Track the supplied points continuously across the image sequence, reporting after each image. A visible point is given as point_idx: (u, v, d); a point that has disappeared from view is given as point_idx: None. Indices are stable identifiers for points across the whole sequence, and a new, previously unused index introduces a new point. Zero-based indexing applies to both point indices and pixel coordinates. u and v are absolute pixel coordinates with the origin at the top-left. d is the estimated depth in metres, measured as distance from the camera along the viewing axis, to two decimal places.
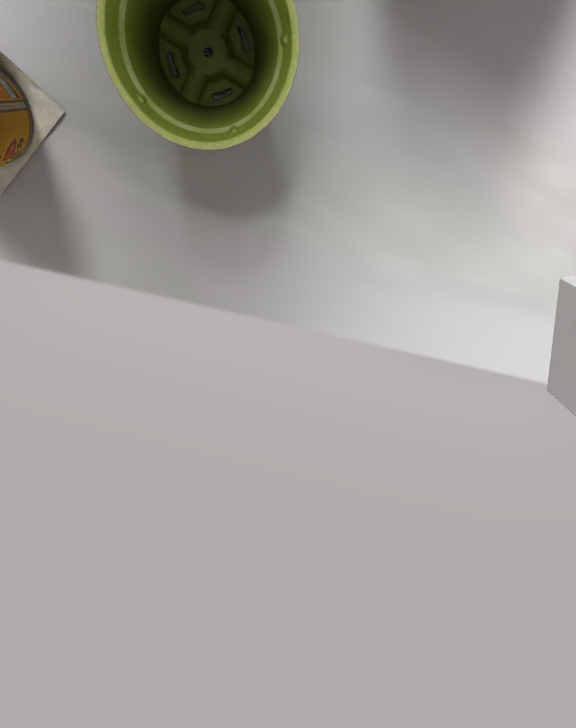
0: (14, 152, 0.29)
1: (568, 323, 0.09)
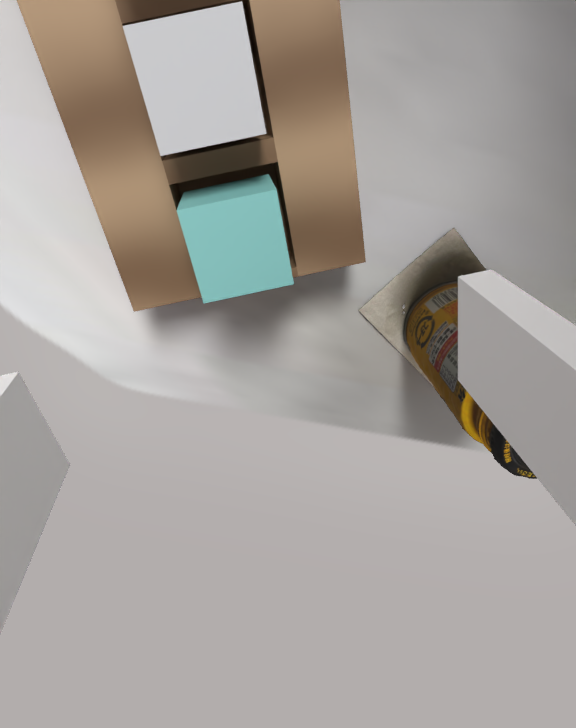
0: None
1: (466, 317, 0.10)
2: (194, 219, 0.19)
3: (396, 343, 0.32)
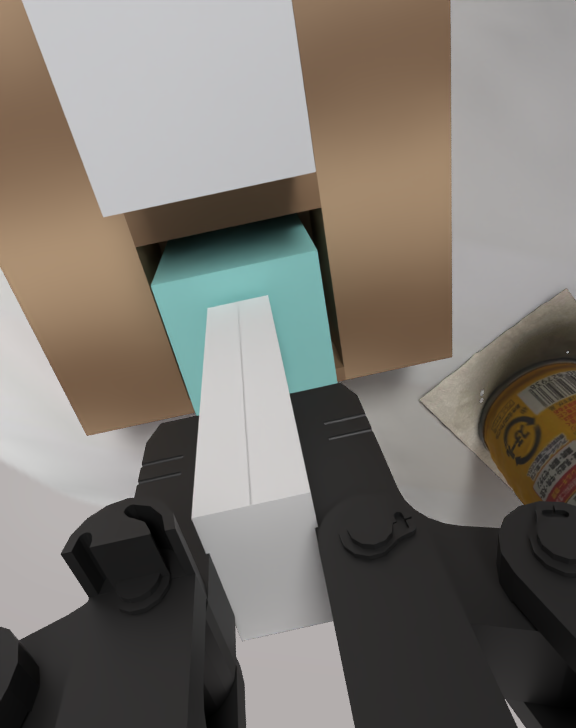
0: None
1: None
2: (181, 298, 0.11)
3: (467, 439, 0.23)
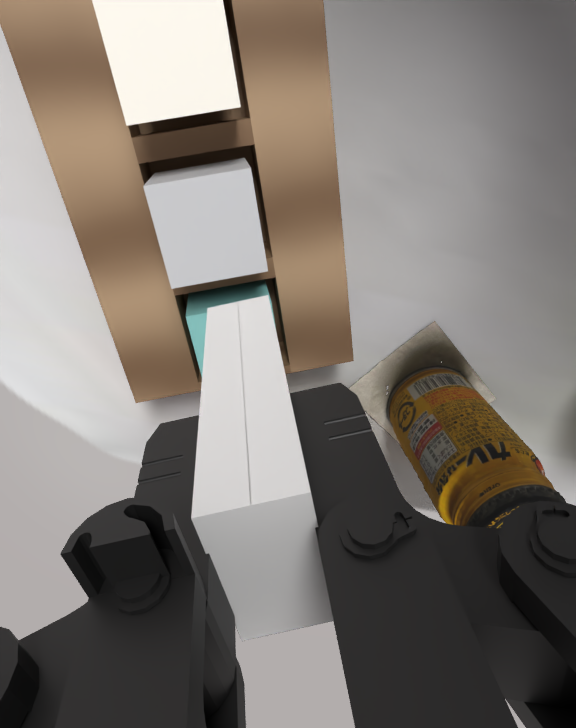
0: None
1: None
2: (200, 323, 0.22)
3: (380, 420, 0.34)
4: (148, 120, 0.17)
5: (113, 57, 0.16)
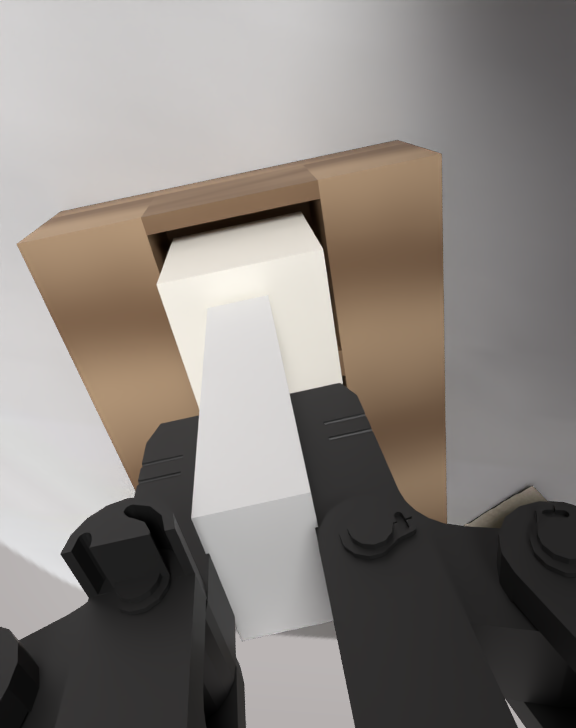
0: None
1: None
2: None
3: None
4: None
5: (188, 355, 0.12)
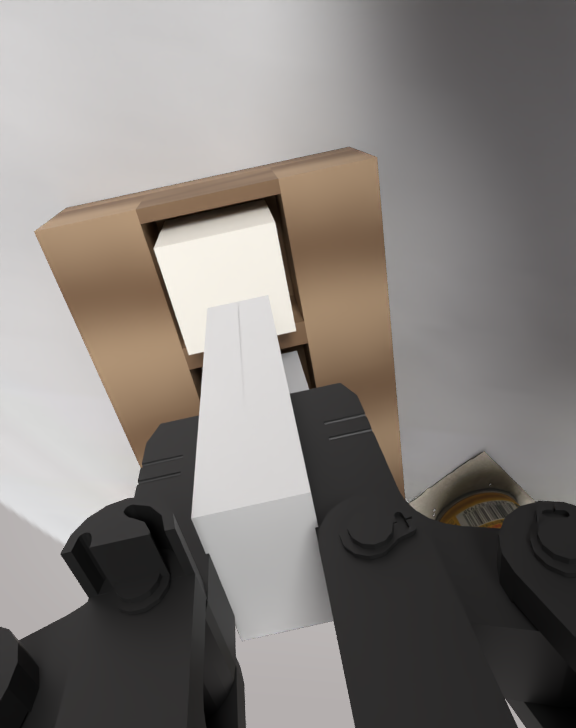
0: None
1: None
2: None
3: None
4: None
5: (177, 303, 0.16)
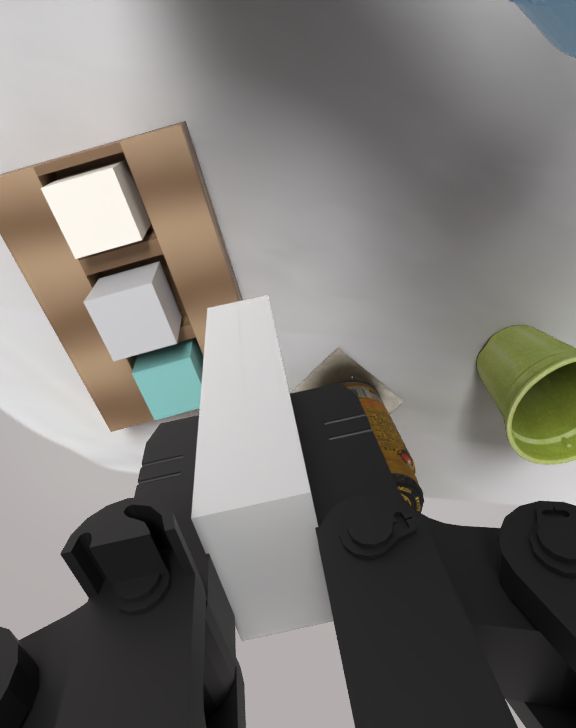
0: None
1: None
2: (143, 376, 0.32)
3: None
4: (87, 254, 0.27)
5: (61, 224, 0.27)
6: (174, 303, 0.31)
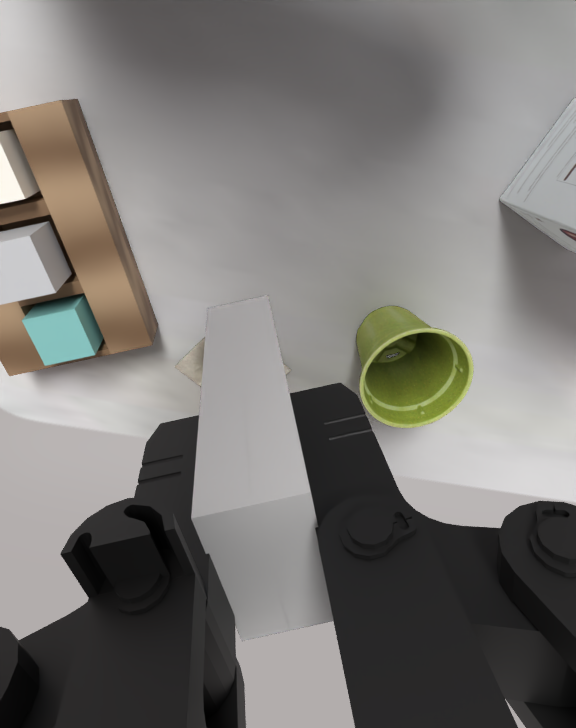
0: None
1: None
2: (32, 324, 0.36)
3: None
4: None
5: None
6: (62, 260, 0.35)
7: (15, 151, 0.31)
